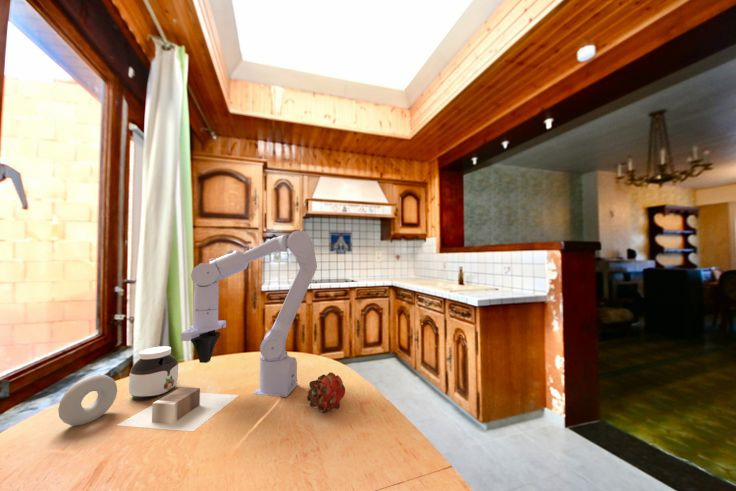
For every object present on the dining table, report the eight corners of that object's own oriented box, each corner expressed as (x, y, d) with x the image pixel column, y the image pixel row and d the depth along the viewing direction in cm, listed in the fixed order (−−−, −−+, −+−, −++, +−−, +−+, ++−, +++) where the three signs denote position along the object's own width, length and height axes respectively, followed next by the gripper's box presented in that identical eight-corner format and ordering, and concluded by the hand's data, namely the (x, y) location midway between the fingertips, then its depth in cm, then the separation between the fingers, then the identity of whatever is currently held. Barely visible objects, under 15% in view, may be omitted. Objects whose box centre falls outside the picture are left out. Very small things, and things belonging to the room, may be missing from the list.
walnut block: (200, 388, 69) (173, 404, 61) (199, 405, 69) (172, 423, 61) (181, 387, 70) (152, 403, 62) (180, 403, 69) (151, 422, 61)
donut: (62, 437, 57) (65, 386, 58) (52, 434, 58) (55, 384, 59) (120, 412, 66) (121, 368, 67) (110, 410, 68) (112, 367, 68)
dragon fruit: (312, 429, 62) (331, 410, 73) (343, 407, 61) (357, 391, 73) (293, 392, 64) (315, 379, 76) (323, 371, 64) (340, 361, 75)
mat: (239, 397, 74) (239, 395, 74) (193, 433, 58) (193, 431, 58) (176, 393, 76) (176, 391, 76) (115, 427, 60) (116, 425, 60)
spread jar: (143, 406, 69) (145, 357, 70) (113, 399, 73) (115, 352, 74) (188, 385, 81) (190, 344, 82) (160, 380, 84) (161, 340, 85)
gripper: (210, 304, 83) (209, 352, 82) (169, 313, 68) (168, 371, 67) (233, 305, 82) (232, 353, 81) (196, 314, 67) (195, 373, 67)
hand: (204, 361), depth 74 cm, fingers closed
